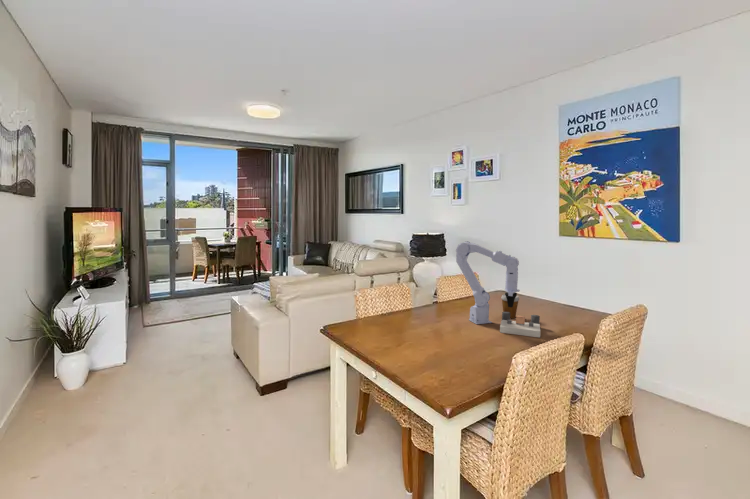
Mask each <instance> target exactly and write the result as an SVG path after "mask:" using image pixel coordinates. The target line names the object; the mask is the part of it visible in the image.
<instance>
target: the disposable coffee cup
mask: <svg viewBox="0 0 750 499" xmlns="http://www.w3.org/2000/svg"><path fill="white" fill-rule="evenodd" d="M500 298H501V304H502V305H501V306H502V312H510V320H512V319H516V315H517V310H518V305H519V301H520V296H519V295H517V296H516V297H515V300H514V304H513V307H508V303H507V298H506V296H505V293H504V294H502V295H501V297H500Z"/></svg>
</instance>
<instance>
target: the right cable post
mask: <svg viewBox="0 0 750 499" xmlns="http://www.w3.org/2000/svg"><path fill="white" fill-rule="evenodd" d="M530 322H533V323H535V324H540V315H538V314H531V315H530Z"/></svg>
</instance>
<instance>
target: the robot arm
mask: <svg viewBox="0 0 750 499" xmlns="http://www.w3.org/2000/svg"><path fill="white" fill-rule="evenodd" d="M455 252H456V257H455V259H456V263H457V264H456V265H458V268H459V269H460V271H461V273H462V274H463V276H464V278H465V280H466V282H467V283H468V285H469V287H470V288H471V291H472V296H473V298H474V302H475V303H474V305H472V306H470V308H469V318H468V321H470V322H471V323H473V324H476V325H485V324H492V323H493V321H491V320H490V304H489V302H490V300H491V296H490V293H488V292H487V291H486V290H485V288H484V287H483V286H482V285H481V283H480V281H479V280H478V277H477V276H476V274H475V273H474V271H473V269H472V267H471V265H470V264H469V262H468V257H469V255H470V254H471V253H478V254H480V255H483V256H486V257H489V258H491V260H492V262H494V263H496V264H499V265H501V266H505V268H506V271H505V288H504V291H505V292H504V294H505V296H506V298H507V303H508V307H513V304H514V300H515V297H516V296H518V292H519V293H520V289H518V280H519V266H520V262H519V259H518V258H517V257H516V256H511V254H509V255H508V254H506V253H503V251H502V250H499V251H498V250H496V251H492V250H490V249H488V248H486V247H484V246H481V245H479V244H476V243H474V242H470V241H464V242H460V243H459V244H458V245H457V247H456V250H455Z"/></svg>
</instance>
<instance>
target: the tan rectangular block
mask: <svg viewBox="0 0 750 499" xmlns="http://www.w3.org/2000/svg"><path fill="white" fill-rule="evenodd" d="M525 319H526V316H525V315H517V314H516V317H515V321H516V324H520V325H525V322H526V320H525Z"/></svg>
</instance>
